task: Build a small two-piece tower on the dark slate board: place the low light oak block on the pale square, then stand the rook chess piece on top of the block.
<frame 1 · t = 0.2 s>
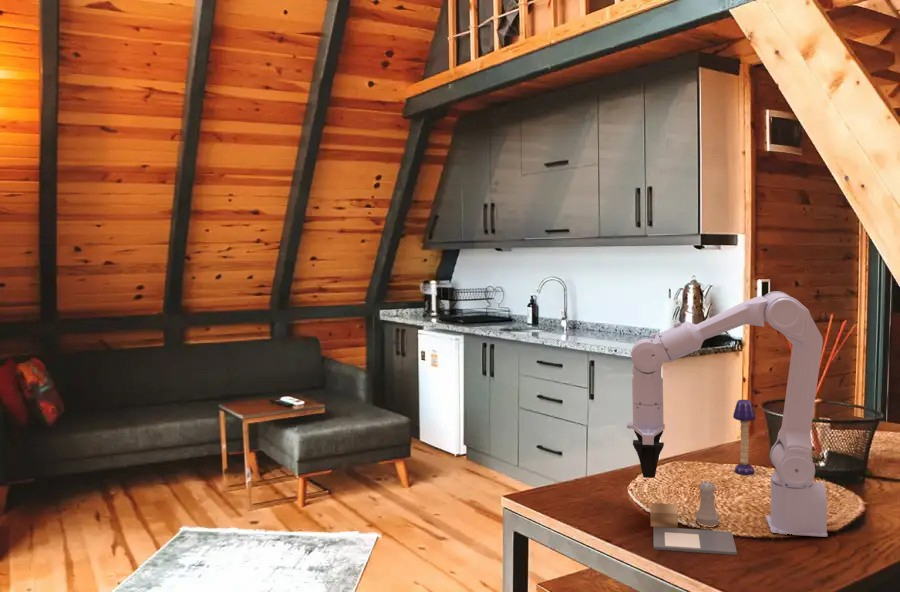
hand: (649, 470, 151), 10 cm above the table, tool pointing down, fingers open, 7 cm apart
rook chess piece: (707, 524, 149), on the table
slate board: (693, 541, 141), on the table
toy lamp: (744, 473, 177), on the table
oak block: (664, 523, 150), on the table
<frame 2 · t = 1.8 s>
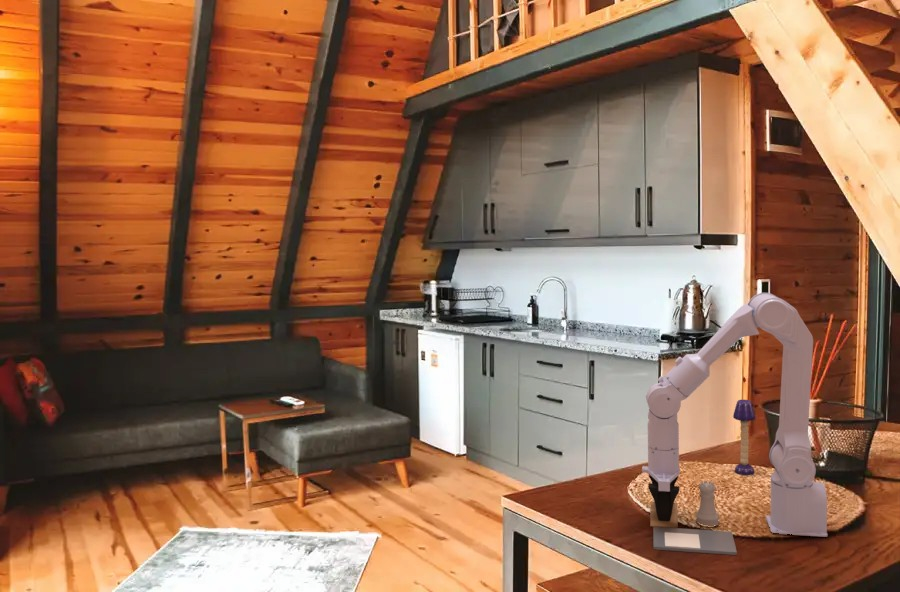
hand: (663, 514, 150), 1 cm above the table, tool pointing down, fingers closed on oak block, 5 cm apart
oak block: (664, 521, 150), on the table, touching gripper
everything else where it was.
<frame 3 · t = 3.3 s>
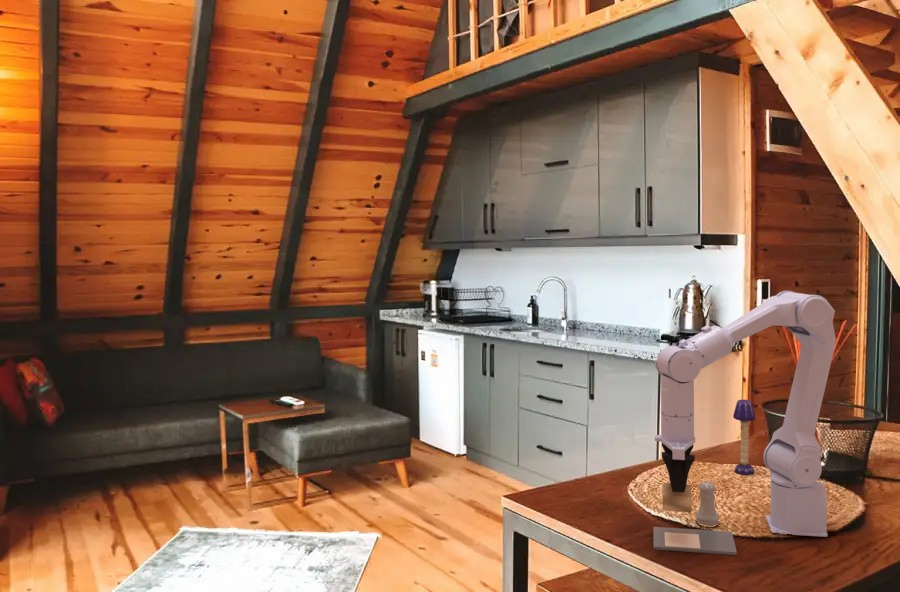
hand: (678, 486, 141), 10 cm above the table, tool pointing down, fingers open, 5 cm apart
oak block: (676, 505, 142), point 6 cm above the table, tilted 6°
everything else where it was.
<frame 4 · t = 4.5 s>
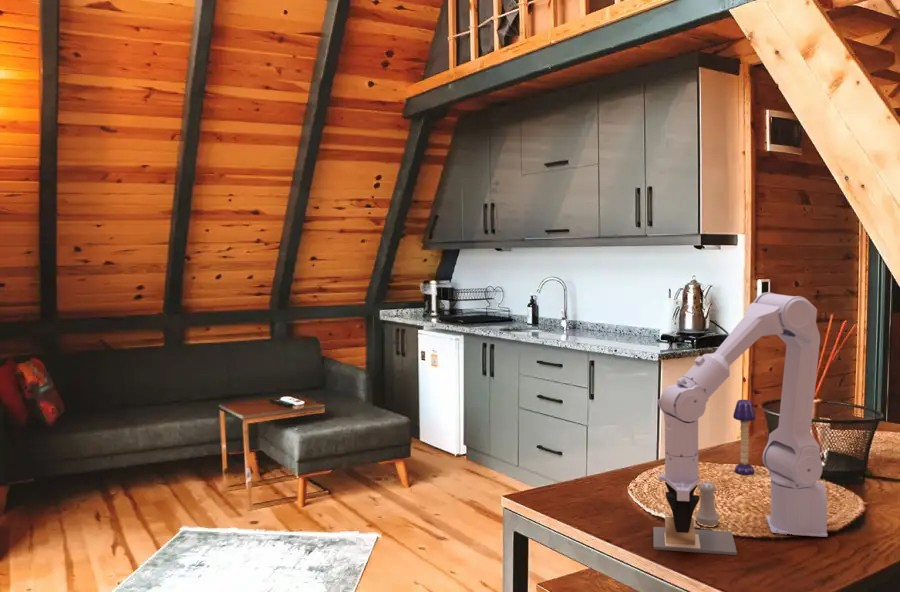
hand: (681, 525, 140), 3 cm above the table, tool pointing down, fingers open, 5 cm apart
oak block: (679, 538, 141), point 1 cm above the table, touching gripper, slate board
everything else where it was.
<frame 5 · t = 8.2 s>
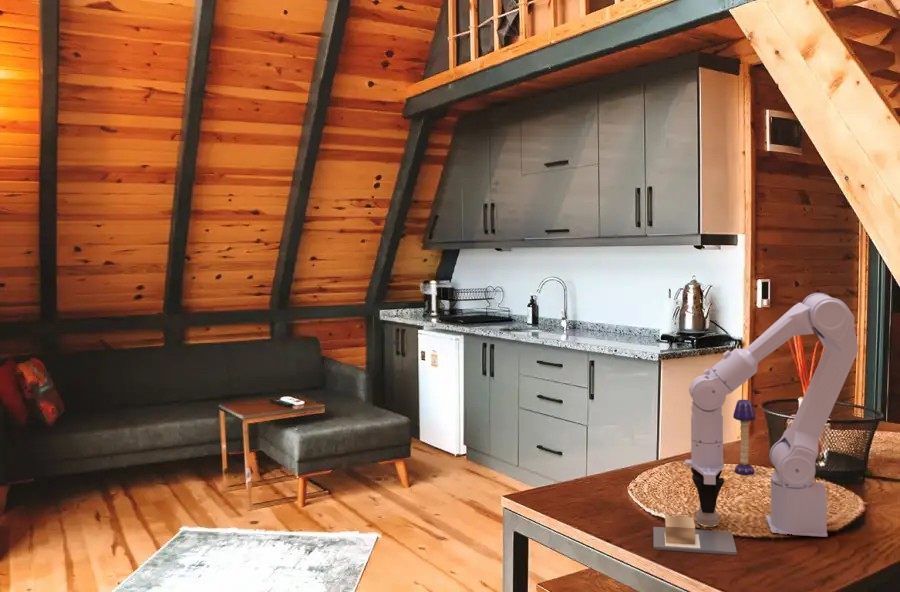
hand: (707, 508, 149), 3 cm above the table, tool pointing down, fingers closed on rook chess piece, 3 cm apart
rook chess piece: (707, 524, 149), on the table, touching gripper
oak block: (679, 537, 141), point 1 cm above the table, touching slate board
everything else where it was.
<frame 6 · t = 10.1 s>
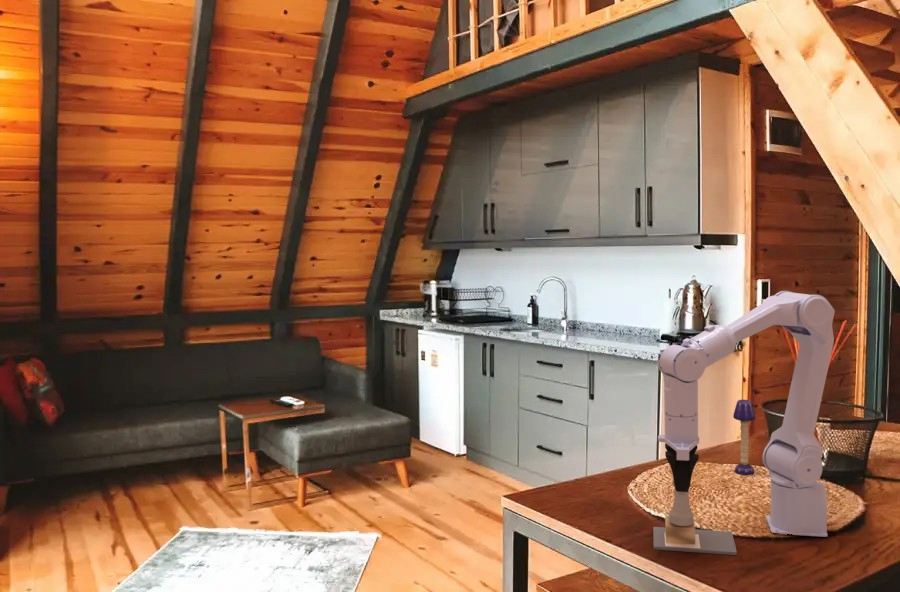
hand: (681, 487, 139), 10 cm above the table, tool pointing down, fingers closed on rook chess piece, 3 cm apart
rook chess piece: (681, 523, 140), point 4 cm above the table, touching gripper
everything else where it was.
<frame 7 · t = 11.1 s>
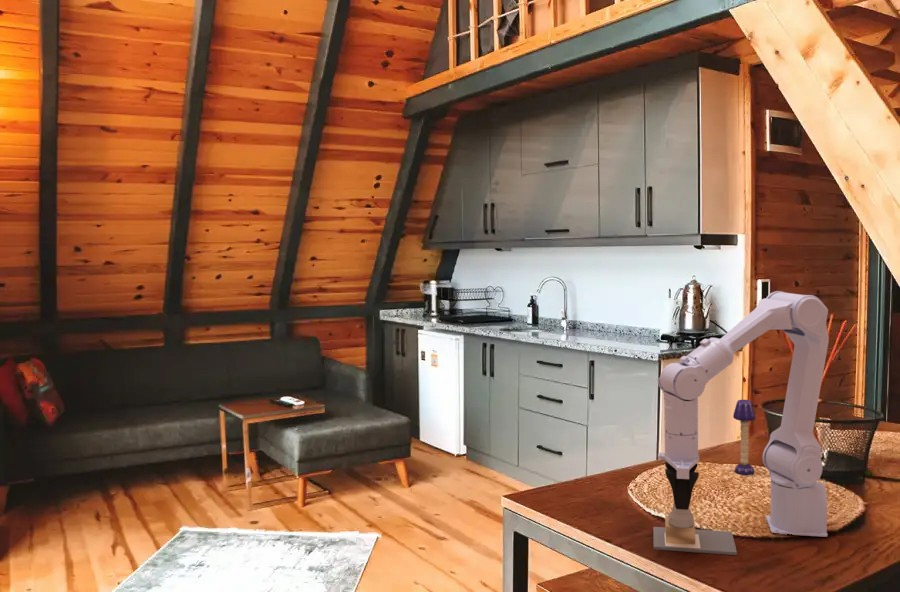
hand: (681, 505, 140), 7 cm above the table, tool pointing down, fingers closed on rook chess piece, 3 cm apart
rook chess piece: (681, 525, 140), point 3 cm above the table, touching gripper, oak block
oak block: (679, 537, 141), point 1 cm above the table, touching rook chess piece, slate board
everything else where it was.
when the fingers open (7 cm above the table, at t = 11.1 s): rook chess piece stays where it is, resting on oak block.
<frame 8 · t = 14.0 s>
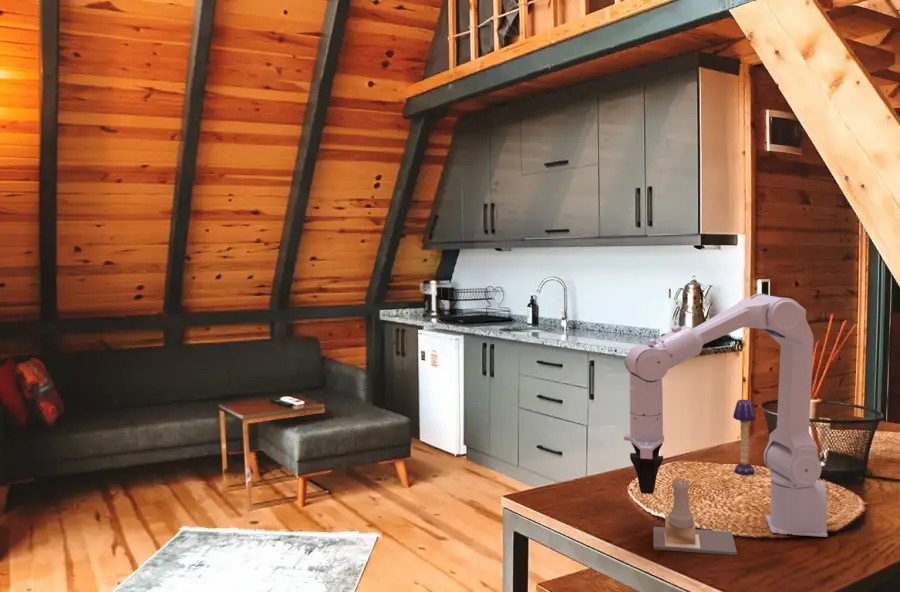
hand: (647, 485, 141), 10 cm above the table, tool pointing down, fingers open, 7 cm apart
rook chess piece: (681, 525, 140), point 3 cm above the table, touching oak block
everything else where it was.
at the end: oak block 0.9 cm from the target spot, point 0.6 cm above the table; rook chess piece 0.9 cm off-centre on the oak block, point 2.8 cm above the oak block's base; rook chess piece tilted 0° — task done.
